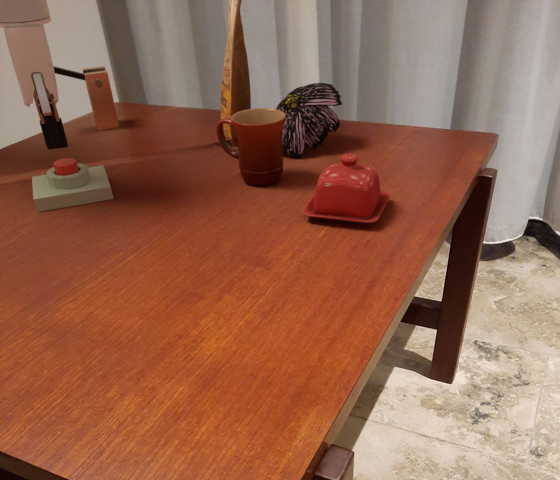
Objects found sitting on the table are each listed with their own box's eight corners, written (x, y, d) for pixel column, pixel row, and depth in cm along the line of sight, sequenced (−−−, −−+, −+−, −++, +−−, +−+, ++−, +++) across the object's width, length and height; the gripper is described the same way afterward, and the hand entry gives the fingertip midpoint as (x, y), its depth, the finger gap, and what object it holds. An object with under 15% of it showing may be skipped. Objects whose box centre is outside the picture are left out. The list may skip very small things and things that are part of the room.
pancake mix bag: (258, 117, 121) (249, -42, 102) (254, 148, 106) (242, -31, 88) (228, 118, 121) (213, -41, 103) (219, 149, 107) (200, -30, 88)
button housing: (37, 212, 88) (29, 188, 85) (36, 189, 95) (28, 166, 92) (113, 199, 91) (107, 175, 88) (106, 177, 98) (100, 154, 95)
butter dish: (321, 192, 90) (321, 138, 84) (391, 199, 87) (397, 144, 81) (299, 222, 82) (298, 165, 76) (376, 232, 79) (381, 173, 73)
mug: (295, 172, 96) (293, 110, 90) (276, 192, 90) (273, 126, 84) (233, 165, 100) (227, 104, 93) (210, 183, 94) (203, 120, 87)
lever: (38, 75, 104) (39, 61, 103) (37, 69, 108) (38, 56, 107) (104, 91, 110) (106, 78, 109) (102, 85, 113) (103, 72, 112)
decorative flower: (247, 88, 103) (322, 55, 102) (263, 139, 113) (332, 110, 112) (269, 133, 95) (350, 98, 94) (285, 184, 105) (358, 152, 104)
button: (57, 178, 89) (53, 167, 88) (55, 170, 91) (52, 160, 90) (79, 174, 90) (76, 164, 89) (78, 167, 92) (75, 156, 91)
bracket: (81, 143, 112) (64, 79, 104) (77, 129, 119) (61, 68, 111) (140, 134, 115) (128, 71, 107) (133, 121, 122) (121, 61, 114)
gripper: (-8, 4, 80) (32, 135, 92) (-12, 21, 70) (34, 167, 82) (46, 0, 82) (78, 129, 94) (50, 17, 71) (86, 159, 84)
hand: (57, 146), depth 88 cm, fingers closed
